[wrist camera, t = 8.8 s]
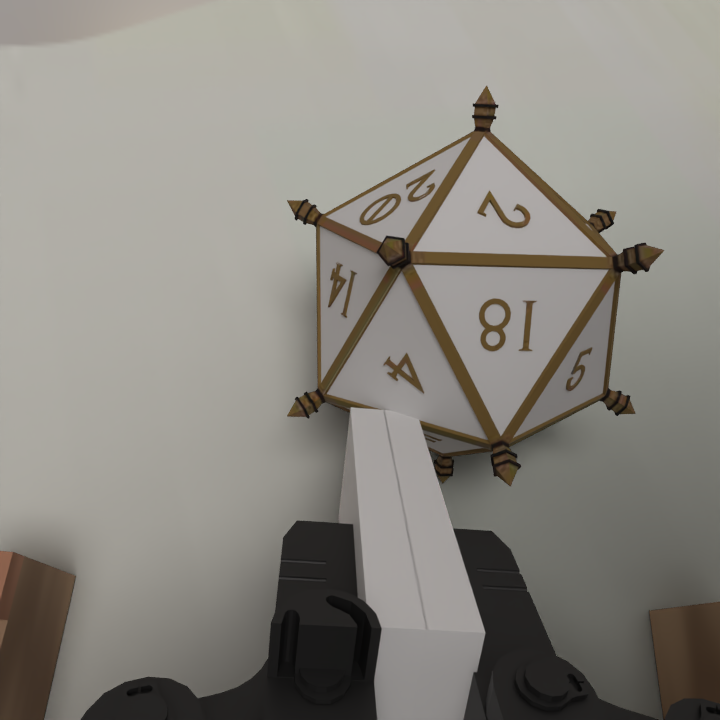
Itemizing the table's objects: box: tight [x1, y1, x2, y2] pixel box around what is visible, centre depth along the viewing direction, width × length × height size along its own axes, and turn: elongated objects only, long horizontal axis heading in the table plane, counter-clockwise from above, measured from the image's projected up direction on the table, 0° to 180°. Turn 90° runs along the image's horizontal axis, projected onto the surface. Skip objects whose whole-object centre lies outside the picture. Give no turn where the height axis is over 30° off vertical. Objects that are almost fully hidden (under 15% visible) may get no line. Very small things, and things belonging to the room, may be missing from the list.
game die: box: [287, 86, 664, 486], centre depth 16 cm, size 9×8×10 cm
